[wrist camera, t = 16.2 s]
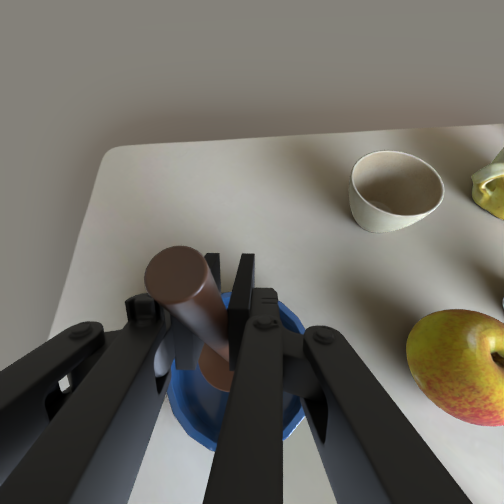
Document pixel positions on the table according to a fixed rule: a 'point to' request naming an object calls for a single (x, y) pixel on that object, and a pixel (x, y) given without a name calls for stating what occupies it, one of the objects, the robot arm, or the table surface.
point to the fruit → (460, 364)
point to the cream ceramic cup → (392, 190)
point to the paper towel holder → (193, 306)
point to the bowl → (221, 395)
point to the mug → (490, 186)
